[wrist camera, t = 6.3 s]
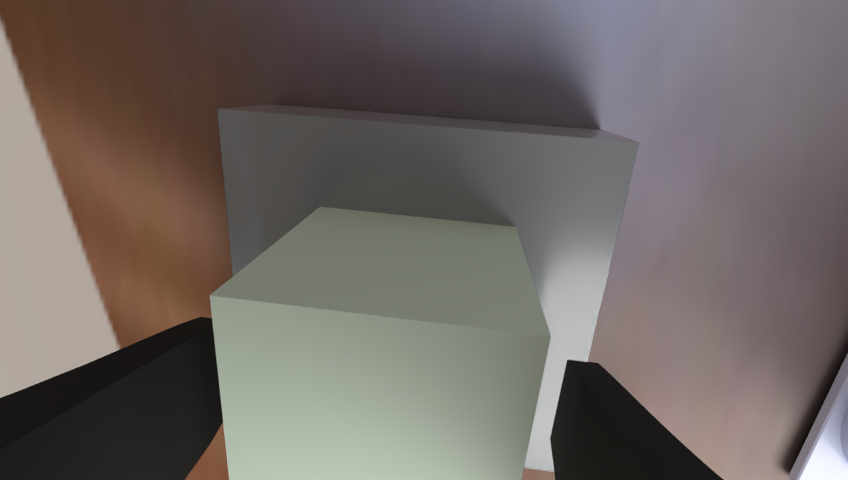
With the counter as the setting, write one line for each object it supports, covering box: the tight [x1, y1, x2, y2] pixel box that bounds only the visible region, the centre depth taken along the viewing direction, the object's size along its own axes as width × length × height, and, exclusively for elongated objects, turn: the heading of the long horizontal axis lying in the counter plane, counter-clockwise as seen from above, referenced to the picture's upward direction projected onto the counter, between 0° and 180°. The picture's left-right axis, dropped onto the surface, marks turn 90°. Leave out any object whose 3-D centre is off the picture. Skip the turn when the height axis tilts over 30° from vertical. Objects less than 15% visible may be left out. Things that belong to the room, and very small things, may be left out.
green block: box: [210, 207, 551, 480], centre depth 9 cm, size 5×5×5 cm
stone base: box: [217, 104, 639, 472], centre depth 13 cm, size 10×10×3 cm
